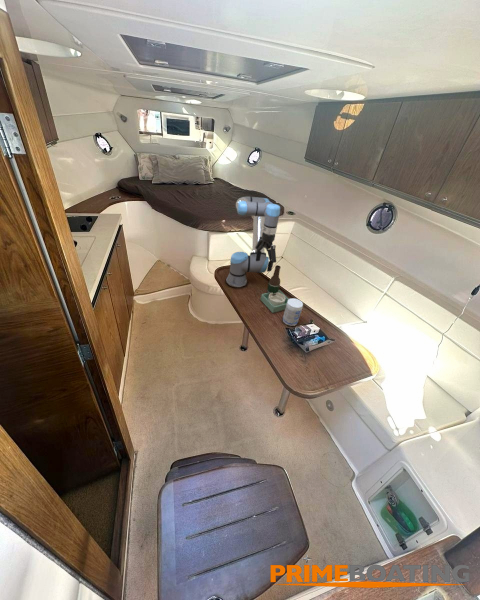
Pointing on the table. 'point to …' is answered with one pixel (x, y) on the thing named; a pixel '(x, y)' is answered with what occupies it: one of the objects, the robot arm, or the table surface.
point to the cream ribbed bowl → (276, 299)
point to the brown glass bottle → (274, 282)
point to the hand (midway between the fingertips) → (263, 265)
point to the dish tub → (273, 309)
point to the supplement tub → (292, 312)
